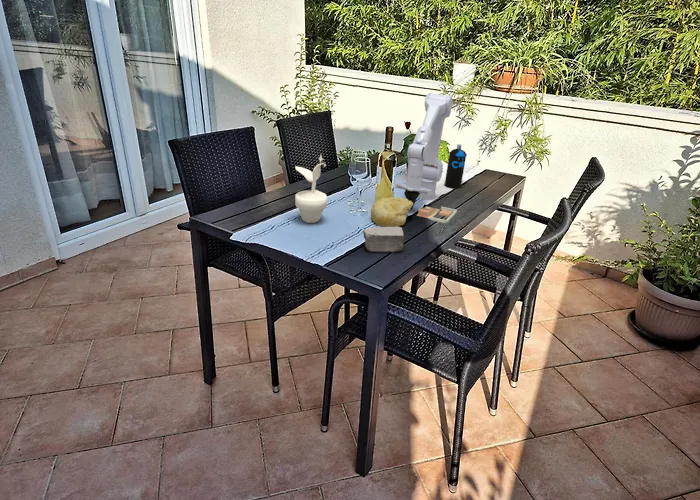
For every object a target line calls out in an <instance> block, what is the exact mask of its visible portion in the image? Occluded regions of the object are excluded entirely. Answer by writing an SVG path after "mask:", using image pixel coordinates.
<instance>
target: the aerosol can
mask: <svg viewBox="0 0 700 500" xmlns="http://www.w3.org/2000/svg"><path fill="white" fill-rule="evenodd" d="M466 159H467V153H466V151H465V150H463V149H462V144H461V143H457V145H456V148H454V149H452V150H451V151H449V152H448V162H447V168H446V174H445V180H444V183H443V186H444V187H445V186H446V188H449V189H454V190H457V189H461V188H462V183H463V176H464V170H465V165H466Z"/></svg>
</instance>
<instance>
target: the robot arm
mask: <svg viewBox="0 0 700 500" xmlns="http://www.w3.org/2000/svg"><path fill="white" fill-rule="evenodd" d="M453 101H454V100H453V96H452V95H445V94H438V93H431V92H428V93H427V94H426V96H425V99H424V109H425V116H424V120H423V124H422V125H421V126H419V128H417V132H416V134H415V137H414V139H413V141H412V143H410V144H409V145H408V148H407V153H406V155H407V163H408V165H407V171H406V172H407V174H406V182H399V181H398V182H395V183H394V189H399V190H400V189H401V190H405V191H404V192H403V194H404V197H405V199H408V201H411V202H413V205H412V207H411V208H410V210H409V211H411V210H413V209H414V205H415V203H416V202H417V199H420V200H422V201H423V200H424V201H433V200H435V197H436V188H437V183H438V182H440V181H441V179H442V176H443V165H444V164H443V163H442V161H441V160H440V159H439V157H438V156H439V150H440V145H441V140H442V135H443V129H444V125H445V120H446V119H447V118H450V115H451V112H452V107H453Z"/></svg>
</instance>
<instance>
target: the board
mask: <svg viewBox="0 0 700 500" xmlns="http://www.w3.org/2000/svg"><path fill="white" fill-rule="evenodd" d="M424 208H427V209H431V210H432V211H431V215H430V216H429V217H423V216H419V215H418V213H417V214H416V216H418V217H423V218H427V219H429V220H430V217H434V216H436V215H437V214H439V212H440V211H441V208H440V209H439V208H436V207H430V206H425V207H424Z"/></svg>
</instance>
